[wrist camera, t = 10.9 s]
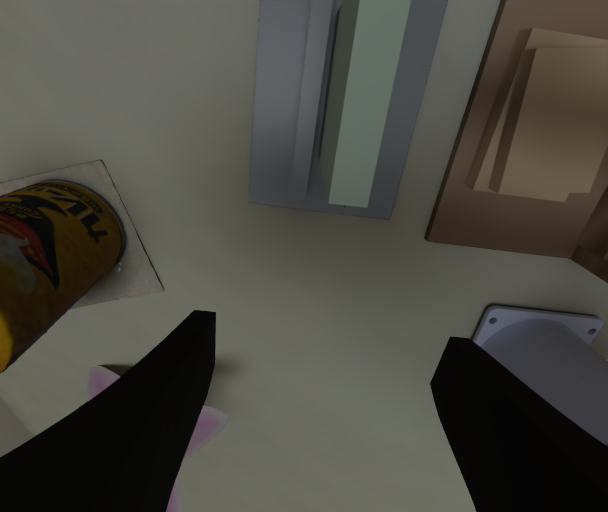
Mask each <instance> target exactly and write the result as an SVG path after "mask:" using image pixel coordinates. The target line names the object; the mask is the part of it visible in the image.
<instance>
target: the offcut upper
mask: <svg viewBox="0 0 608 512" xmlns="http://www.w3.org/2000/svg"><path fill="white" fill-rule="evenodd" d="M607 146H608V47H592V48H534V49H528V50H522V53H521V58H520V62H519V66H518V70H517V74H516V78H515V82H514V86H513V90H512V94H511V98H510V102H509V106H508V110H507V114H506V118H505V122H504V126H503V130H502V134H501V138H500V142H499V146H498V150H497V154H496V159H495V163H494V167H493V171H492V175H491V179H490V183H489V187H488V188H490V189H491V190H493V191H495V192H497V193H589V192H590V190H591V187H592V184H593V182H594V179H595V177H596V174H597V172H598V169H599V167H600V164H601V161H602V159H603V156H604V154H605V151H606V149H607Z"/></svg>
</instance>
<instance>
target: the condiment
mask: <svg viewBox="0 0 608 512" xmlns="http://www.w3.org/2000/svg"><path fill="white" fill-rule="evenodd" d="M120 262H122V263H123V264H122V266H119V263H120ZM119 267H121V271H120V272H118V268H119ZM159 291H164V290H163V288H162V286H161V284H160V282H159V280H158V278H157V276H156V273H155V271H154V269H153V268H152V266H151V264H150V262H149V259H148V257H147V255H146V253H145V251H144V249H143V247H142V244H141V242H140V240H139V238H138V236H137V233H136V231H135V228H134V226H133V224H132V222H131V220H130V218H129V216H128V214H127V212H126V210H125V207H124V205H123V203H122V201H121V199H120V197H119V194H118V192H117V190H116V189H115V187H114V185H113V183H112V180H111V178H110V176H109V174H108V172H107V170H106V168H105V166H104V165H103V163H102V162H101V160H98V161H94V162H90V163H85V164H81V165H77V166H72V167H68V168H64V169H59V170H55V171H51V172H46V173H42V174H38V175H34V176H29V177H25V178H21V179H16V180H12V181H7V182H5V183H0V374H1V373H2V372H4V371H5V370H6V369H7V368H8V367H9V366H10V365H11V364H13V363H14V362H15V361H16V360H17V359H18V358H19V357H20V356H21V355H22V354H23V353H24V352H25V351H26V350H27V349H29V348H30V347H31V346H32V345H33V343H35V342H36V341H37V340H38V339H39V338H40V337H41V336H42V335H43V334H45V333H46V332H47V331H48V329H49V328H50V327H51V326H53V324H54V323H55V322H56V321H57V320H58V319H60V317H61V316H63V315H64V314H65V313H66V312H67V311H68V310H70V309H73V308H76V307H82V306H86V305H91V304H96V303H100V302H105V301H111V300H116V299H119V298H126V297H133V296H138V295H142V294H149V293H154V292H159Z"/></svg>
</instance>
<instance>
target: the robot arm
mask: <svg viewBox="0 0 608 512" xmlns="http://www.w3.org/2000/svg"><path fill="white" fill-rule="evenodd" d="M491 318H493V319H492V320H490V319H491ZM602 326H603V321H602V320H601V319H600V318H599V317H596V316H587V315H578V314H569V313H560V312H551V311H542V310H533V309H524V308H515V307H506V306H497V305H495V306H491V307H489V308H488V309H487V310H486V312H485V314H484V316H483V318H482V320H481V323H480V325H479V327H478V329H477V331H476V333H475V335H474V338H473V340H471V339H469V338H459V337H450V338H449V340H448V343H447V345H446V348H445V350H444V352H443V355H442V357H441V359H440V362H439V364H438V366H437V369H436V371H435V373H434V376H433V378H432V380H431V383H430V385H431V389H432V393H433V397H434V402H435V405H436V409H437V412H438V416H439V418H440V421H441V424H442V426H443V429H444V431H445V434H446V436H447V439H448V441H449V444H450V446H451V449H452V451H453V454H454V456H455V458H456V461H457V463H458V466H459V468H460V471H461V473H462V476H463V478H464V481H465V483H466V485H467V488H468V490H469V493H470V495H471V498H472V501H473V503H474V506H475V509H476V512H608V362H607V361H606V360H604V359H603V358H602V357H601V356H600V355H599V354H598V353H597V352H596V351H595V350H593V349H592V348H591V347H590V346H589V345H590V344H591V342H592V341H593V339H594V338H595V337H596V335H597V334H598V332H599V331H600V329H601V328H602ZM215 334H216V312H209V311H200V310H194V311H193V312H192V313H191V314H190V315H189V316H188V317H187V318H186V319H185V320H183V321H182V322H181V323H180V324H179V325H178V326H177V327H176V328H175V329H174V330H173V331H172V332H171V333H170V334H169V335H168V336H167V337H166V338H165V339H164V340H163V341H162V342H160V343H159V344H158V345H157V346H156V347H155V348H154V349H153V350H152V351H150V352H149V353H148V354H147V355H146V356H145V357H144V358H143V359H141V360H140V361H139V362H138V363H137V364H135V365H134V366H133V367H132V368H131V369H129V370H128V371H127V372H126V373H124V374H123V375H122V376H121V377H119V378H118V379H117V380H116V381H115V382H113V383H112V384H111V385H109V386H108V387H107V388H105V389H104V390H103V391H102V392H100V393H99V394H97V395H96V396H95V397H93V398H92V399H91V400H89V401H88V402H86V403H85V404H84V405H82V406H81V407H79V408H78V409H76V410H75V411H74V412H72V413H71V414H69V415H68V416H66V417H65V418H63V419H62V420H60V421H58V422H57V423H55V424H54V425H52V426H51V427H49V428H48V429H46V430H45V431H43V432H41V433H40V434H38V435H37V436H35V437H33V438H32V439H30V440H29V441H27V442H26V443H24V444H22V445H21V446H19V447H17V448H16V449H14V450H12V451H11V452H9V453H7V454H5V455H4V456H2V457H0V512H166V510H167V506H168V503H169V499H170V496H171V492H172V489H173V486H174V483H175V480H176V477H177V474H178V472H179V469H180V466H181V464H182V461H183V458H184V456H185V453H186V450H187V448H188V445H189V443H190V440H191V437H192V435H193V432H194V429H195V427H196V424H197V421H198V419H199V416H200V413H201V410H202V408H203V405H204V402H205V400H206V397H207V394H208V390H209V386H210V382H211V378H212V374H213V370H214V366H215Z"/></svg>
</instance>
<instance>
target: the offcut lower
mask: <svg viewBox="0 0 608 512" xmlns="http://www.w3.org/2000/svg"><path fill="white" fill-rule="evenodd" d="M592 47H608V40H605V39H599V38H593V37H587V36H581V35H575V34H569V33H563V32H557V31H551V30H545V29H539V28H529V29H525V30H521V31H519V33H518V36H517V39H516V41H515V44H514V47H513V50H512V53H511V55H510V58H509V61H508V64H507V67H506V69H505V72H504V75H503V78H502V81H501V84H500V86H499V89H498V92H497V95H496V98H495V100H494V103H493V106H492V109H491V112H490V114H489V117H488V120H487V123H486V126H485V129H484V131H483V134H482V137H481V140H480V143H479V145H478V148H477V151H476V154H475V157H474V159H473V162H472V165H471V168H470V171H469V174H468V176H467V179H466V182H465V186H467V187H468V188H470V189H472V190H475V191H483V192H490V193H497V192H495V191H493V190H491V189H490V188H488V187H489V183H490V179H491V175H492V171H493V167H494V163H495V159H496V154H497V150H498V146H499V142H500V138H501V134H502V130H503V126H504V122H505V118H506V114H507V110H508V106H509V102H510V98H511V94H512V90H513V86H514V82H515V78H516V74H517V70H518V66H519V62H520V58H521V53H522V50H528V49H534V48H592ZM498 194H505V195H513V196H520V197H528V198H535V199H543V200H551V201H558V202H565V201H566V199H567V197H568V195H569V193H498Z"/></svg>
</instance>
